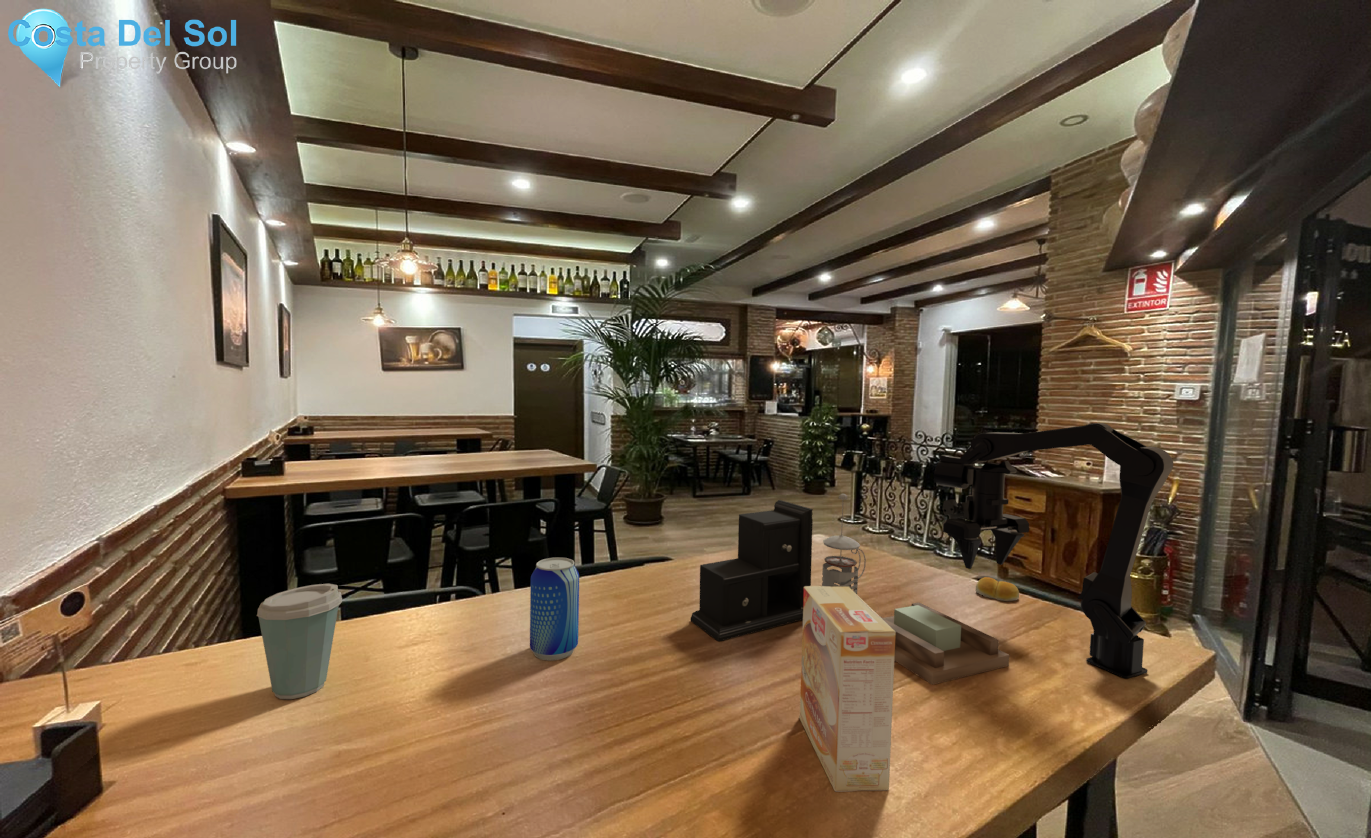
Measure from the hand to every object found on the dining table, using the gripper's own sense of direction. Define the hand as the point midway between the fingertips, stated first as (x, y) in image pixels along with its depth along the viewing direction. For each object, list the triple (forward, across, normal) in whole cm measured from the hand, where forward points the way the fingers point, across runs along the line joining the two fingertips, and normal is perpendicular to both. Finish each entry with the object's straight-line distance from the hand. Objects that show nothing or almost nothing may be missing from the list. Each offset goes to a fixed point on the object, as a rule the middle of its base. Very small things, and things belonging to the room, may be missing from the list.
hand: (984, 566), depth 112 cm
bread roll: (+12, -18, -10) cm, 24 cm away
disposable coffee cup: (+12, +124, -18) cm, 126 cm away
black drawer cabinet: (+12, +46, -17) cm, 50 cm away
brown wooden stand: (+12, +21, +5) cm, 25 cm away
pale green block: (+10, +21, +5) cm, 24 cm away
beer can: (+12, +86, -17) cm, 89 cm away
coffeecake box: (+12, +55, +23) cm, 61 cm away
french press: (+12, +21, -19) cm, 31 cm away
